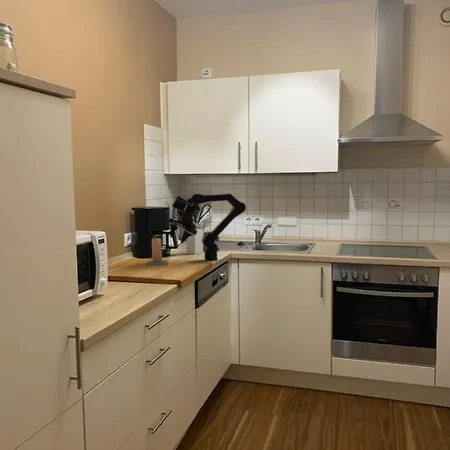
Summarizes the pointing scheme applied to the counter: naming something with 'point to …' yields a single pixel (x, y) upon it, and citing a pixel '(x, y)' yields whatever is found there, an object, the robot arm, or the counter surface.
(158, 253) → the brown rounded tapered cylinder
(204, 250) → the supplement container
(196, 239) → the milk carton
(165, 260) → the gray panel
